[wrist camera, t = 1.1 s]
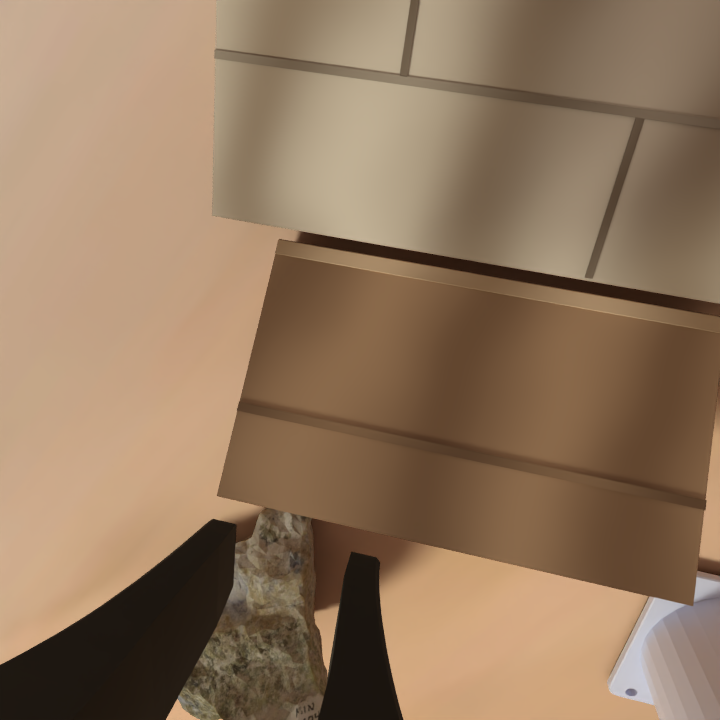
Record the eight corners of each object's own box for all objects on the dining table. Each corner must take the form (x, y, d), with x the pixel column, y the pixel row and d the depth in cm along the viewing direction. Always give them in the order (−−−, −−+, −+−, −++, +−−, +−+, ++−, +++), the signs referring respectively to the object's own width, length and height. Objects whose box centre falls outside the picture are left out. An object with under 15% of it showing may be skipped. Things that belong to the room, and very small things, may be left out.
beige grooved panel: (968, -56, 14) (1024, -77, 12) (789, 307, 18) (815, 320, 16) (239, -129, 16) (218, -154, 14) (228, 211, 20) (211, 215, 18)
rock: (290, 491, 23) (333, 771, 18) (355, 507, 28) (401, 730, 23) (110, 560, 27) (105, 808, 22) (195, 563, 31) (206, 765, 27)
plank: (701, 327, 18) (727, 316, 17) (669, 593, 17) (694, 606, 15) (287, 253, 20) (278, 238, 18) (230, 492, 18) (216, 496, 17)
